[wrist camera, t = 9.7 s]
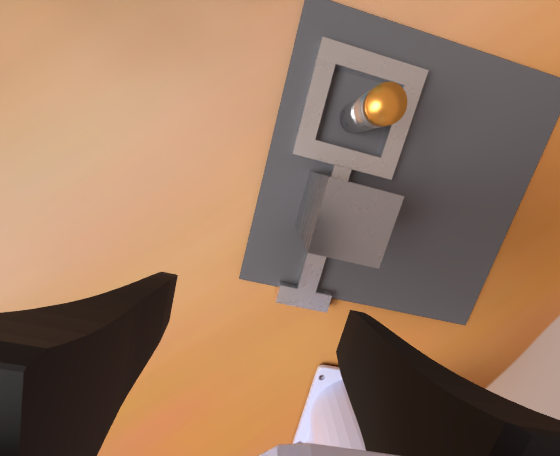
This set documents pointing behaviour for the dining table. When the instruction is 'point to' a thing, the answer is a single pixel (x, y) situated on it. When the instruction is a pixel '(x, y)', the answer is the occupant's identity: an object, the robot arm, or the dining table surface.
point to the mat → (410, 166)
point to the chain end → (346, 176)
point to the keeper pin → (374, 108)
